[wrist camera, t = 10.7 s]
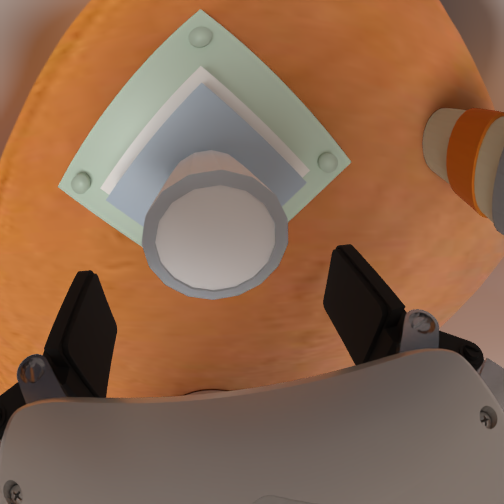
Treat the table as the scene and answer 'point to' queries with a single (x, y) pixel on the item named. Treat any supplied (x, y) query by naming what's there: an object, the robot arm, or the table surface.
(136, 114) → the stepped tiered stack
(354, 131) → the table surface
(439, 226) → the table surface
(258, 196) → the white tapered cup
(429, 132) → the reusable coffee cup
